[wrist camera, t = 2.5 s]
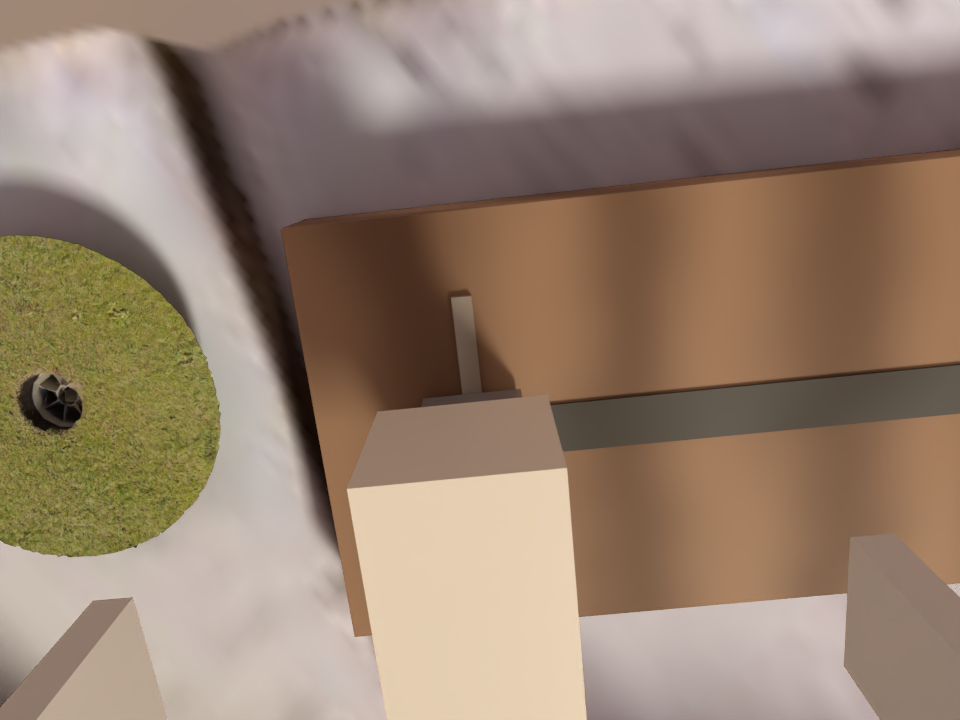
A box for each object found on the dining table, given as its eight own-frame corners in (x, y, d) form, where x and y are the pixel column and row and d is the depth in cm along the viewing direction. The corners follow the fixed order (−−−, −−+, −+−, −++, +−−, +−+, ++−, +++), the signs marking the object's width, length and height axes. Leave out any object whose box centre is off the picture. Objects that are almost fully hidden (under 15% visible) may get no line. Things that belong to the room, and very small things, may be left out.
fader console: (367, 586, 28) (353, 641, 25) (305, 219, 24) (278, 230, 21) (1221, 508, 27) (1318, 555, 24) (1302, 111, 23) (1432, 106, 20)
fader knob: (425, 530, 23) (392, 753, 15) (400, 353, 22) (347, 488, 13) (548, 518, 23) (588, 737, 15) (533, 339, 22) (566, 468, 13)
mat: (293, 337, 25) (277, 352, 23) (159, 579, 28) (136, 610, 26) (-17, 163, 23) (-61, 163, 22) (-126, 437, 26) (-173, 460, 24)
